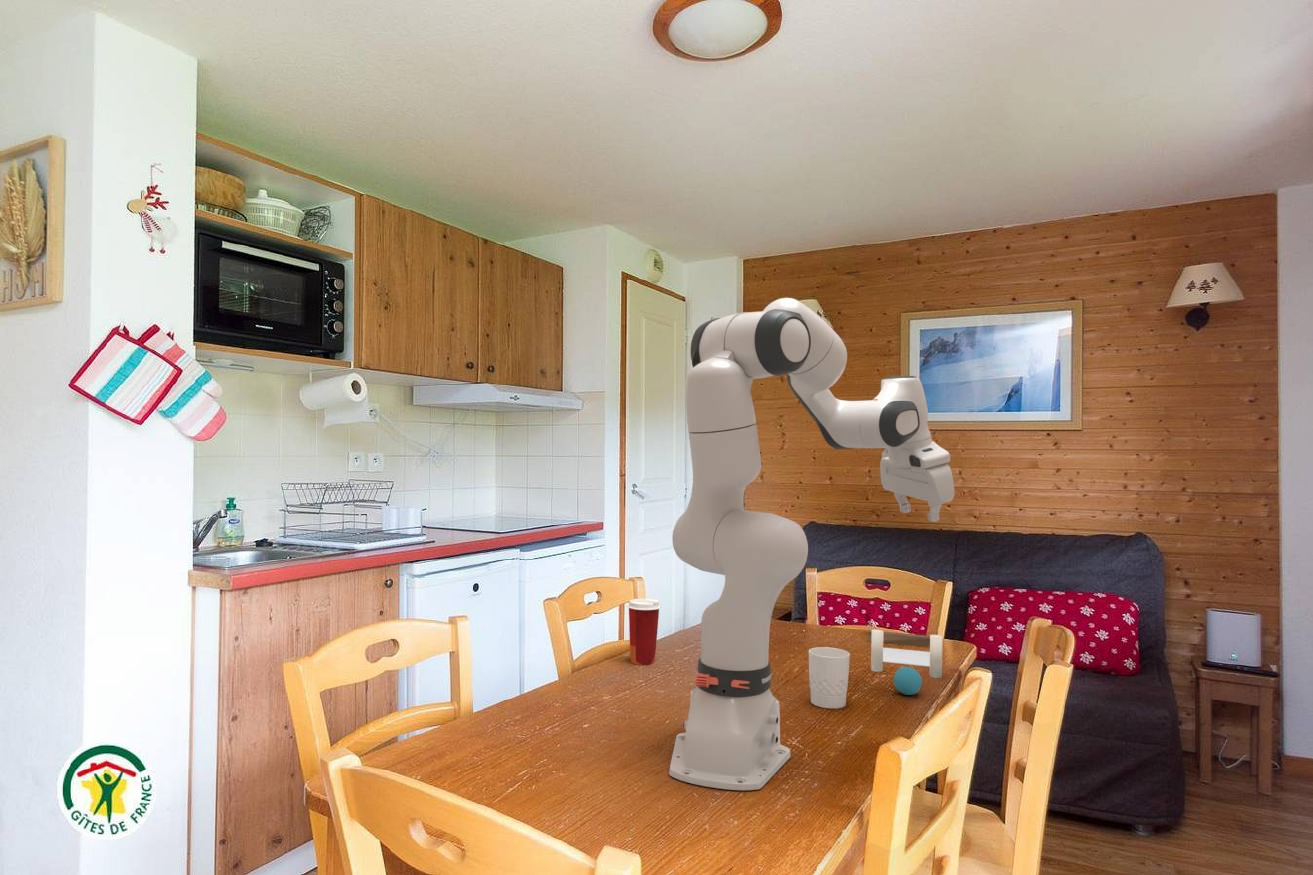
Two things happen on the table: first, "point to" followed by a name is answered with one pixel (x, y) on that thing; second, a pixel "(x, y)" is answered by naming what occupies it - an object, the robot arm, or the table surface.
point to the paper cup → (643, 630)
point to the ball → (907, 680)
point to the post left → (877, 650)
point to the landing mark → (906, 657)
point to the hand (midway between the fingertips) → (919, 516)
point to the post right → (935, 656)
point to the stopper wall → (903, 638)
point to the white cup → (828, 676)
